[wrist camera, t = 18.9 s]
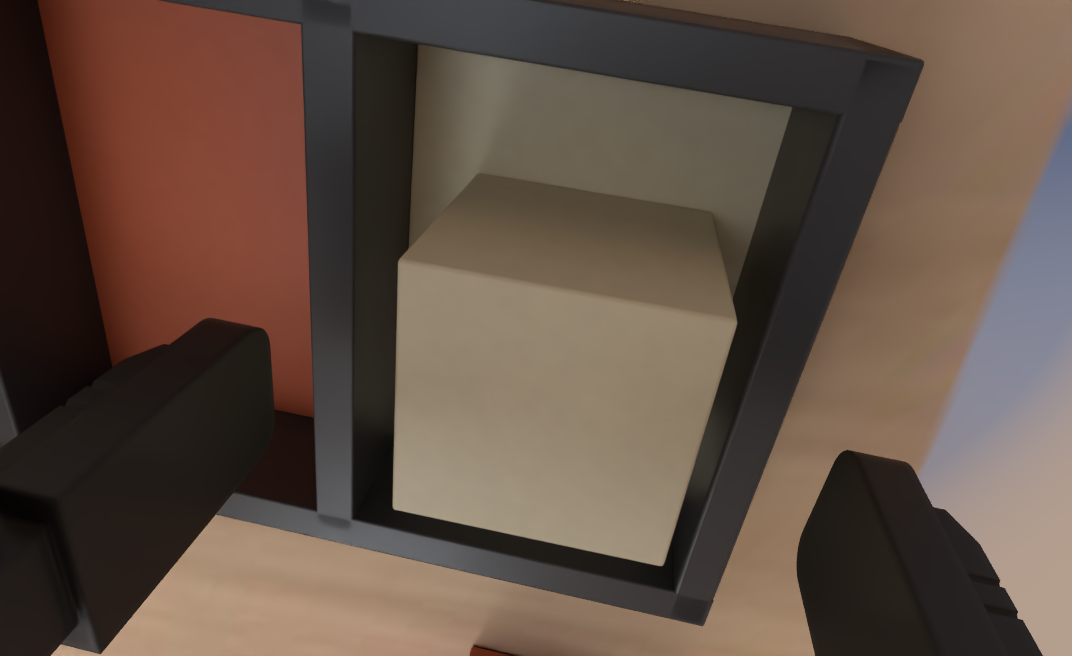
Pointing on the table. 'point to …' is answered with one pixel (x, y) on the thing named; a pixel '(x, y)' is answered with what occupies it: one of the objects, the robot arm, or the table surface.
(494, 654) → the terracotta block
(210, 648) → the table surface
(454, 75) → the sorting tray
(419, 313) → the cream block
